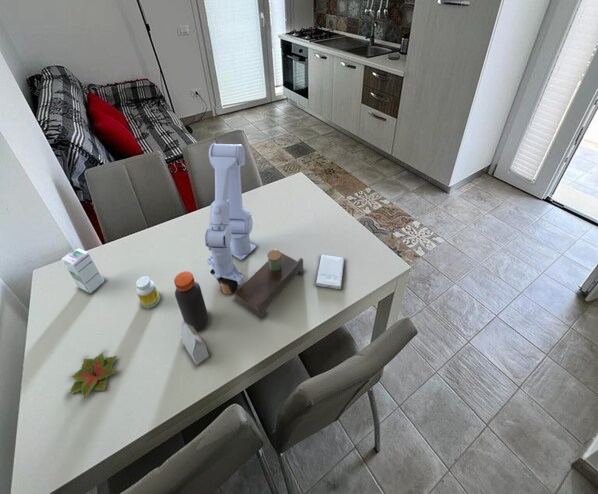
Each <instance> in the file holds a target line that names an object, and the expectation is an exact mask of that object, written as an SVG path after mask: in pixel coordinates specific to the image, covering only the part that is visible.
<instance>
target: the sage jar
mask: <svg viewBox="0 0 598 494" xmlns="http://www.w3.org/2000/svg"><path fill="white" fill-rule="evenodd" d="M281 253H282V252H281V251H280V250H278V249H271V250H269V251H268V252H267V261H268V264H269V269H270V270H272V271H278V270H279V269H280V268H281V266H282V264H281Z"/></svg>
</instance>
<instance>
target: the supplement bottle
mask: <svg viewBox="0 0 598 494" xmlns="http://www.w3.org/2000/svg"><path fill="white" fill-rule="evenodd" d="M135 286H136V288H135V292H136V295H137V297H138V299H139V301H140V303H141V305H142V307H144V308H147V309H148V308H153V307H155V306H156V305H157V304H158V303H159V301H160V294H159V291H158V289H157V287H156V284H155V282H154V281H153V280H151V279H150V277H149V276H142V277H139V278H138V279H137V280H136V282H135Z"/></svg>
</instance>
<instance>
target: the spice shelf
mask: <svg viewBox="0 0 598 494" xmlns="http://www.w3.org/2000/svg"><path fill="white" fill-rule="evenodd" d="M281 264H282V266H281V268H280V269H279V270H278V271H272V270H270V269H269V264H268V260H267V261H266V262H265V263H263V265H262V266H261V267H260V268H258V270H257V271H256V272H255V273H254V274H253V275H252V276H251V277H249V278H248V280H247V281H245V283H244V284H242V285H241V286H240V288H237V290H236V291H235V292H234V293H233V294H234V299H235V301H236V302H237V303H239V304H240V305H242V306H243V307H244V308H246V309H247V310H248V311H250V312H252V313H253V314H255V315H256V316H257V317H258V318H259V319H262V318H263V317H264V316H265V314H266V313H265V310H266V309H267V308H268V306H270V305H271V303H272V302H273V301H274V300H275V299H276V298H277V297H278V295H279V294H281V292H283V290H284V289H285V288H286V287H287V286H288V284H290V282H291V281H292V280H293V279H294V278H295V277H296V276H297V274H298V275H302V274H303V272H304V258H302V257H300V258H299V259H298V260H296V259H294V258H293V257H290V256H288V255H286V254H284V253H283V252H281Z"/></svg>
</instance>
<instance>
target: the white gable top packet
mask: <svg viewBox="0 0 598 494" xmlns="http://www.w3.org/2000/svg"><path fill="white" fill-rule="evenodd" d="M185 323H186V322H183V326H182V330H181V333H180V336H181V340H182V342H183V345H184V347H185V349H186V350H187V352H188V354H189V355H190V357H191V359H192V360H193V362H194V363H195V365H196V366H198V365H199V364H201V362H203V361H204V360H206V359H207V358H208V357H209V356H210V354H209V353H208V349H207V345H206V343H205V342H204V340H203V339H202V338H201V335H200V334H199V333H198V331H196V330H195V328H194V327H193V326H191V325H188V324H187V323H186V324H185Z"/></svg>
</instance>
